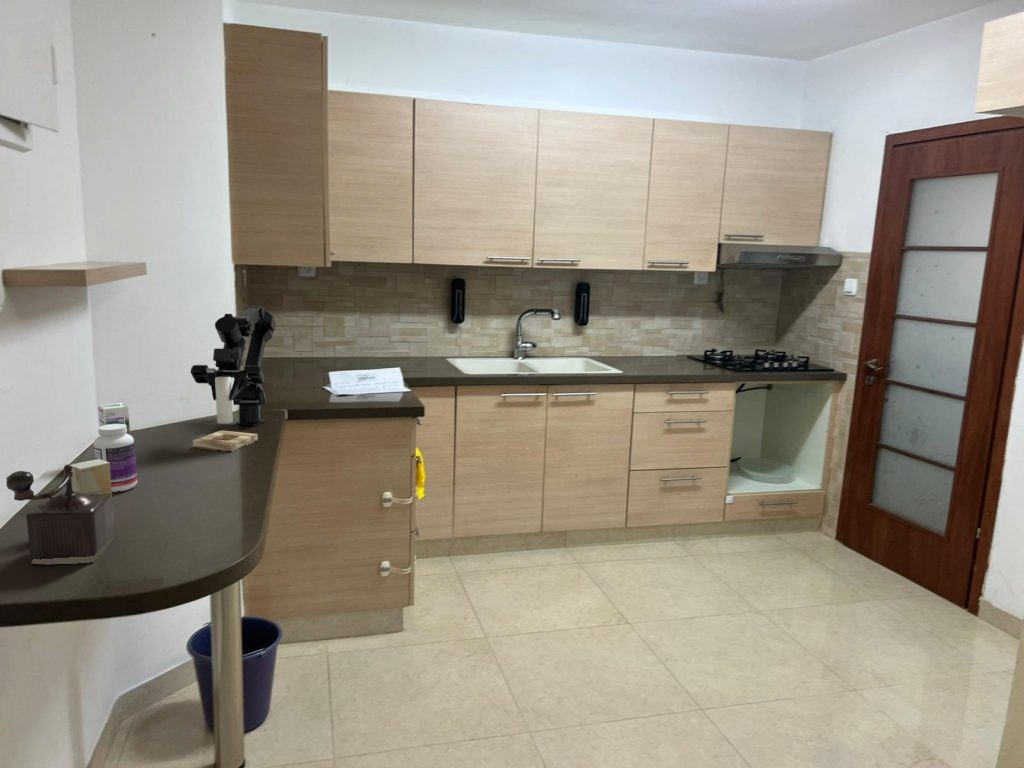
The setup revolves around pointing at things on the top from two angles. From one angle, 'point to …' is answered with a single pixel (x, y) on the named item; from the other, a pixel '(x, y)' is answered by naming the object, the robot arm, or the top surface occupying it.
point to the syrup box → (114, 415)
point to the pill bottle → (117, 455)
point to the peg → (223, 399)
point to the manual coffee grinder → (64, 518)
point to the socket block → (225, 440)
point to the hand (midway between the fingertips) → (222, 399)
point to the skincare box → (92, 477)
